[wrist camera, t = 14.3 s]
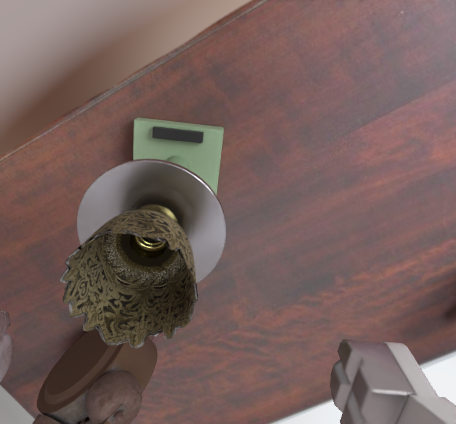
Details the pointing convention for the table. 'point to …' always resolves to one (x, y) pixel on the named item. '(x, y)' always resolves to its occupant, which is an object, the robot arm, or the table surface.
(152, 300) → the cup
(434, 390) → the robot arm
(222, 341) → the table surface
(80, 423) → the alarm clock
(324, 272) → the table surface
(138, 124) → the scale
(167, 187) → the brushed steel disc
